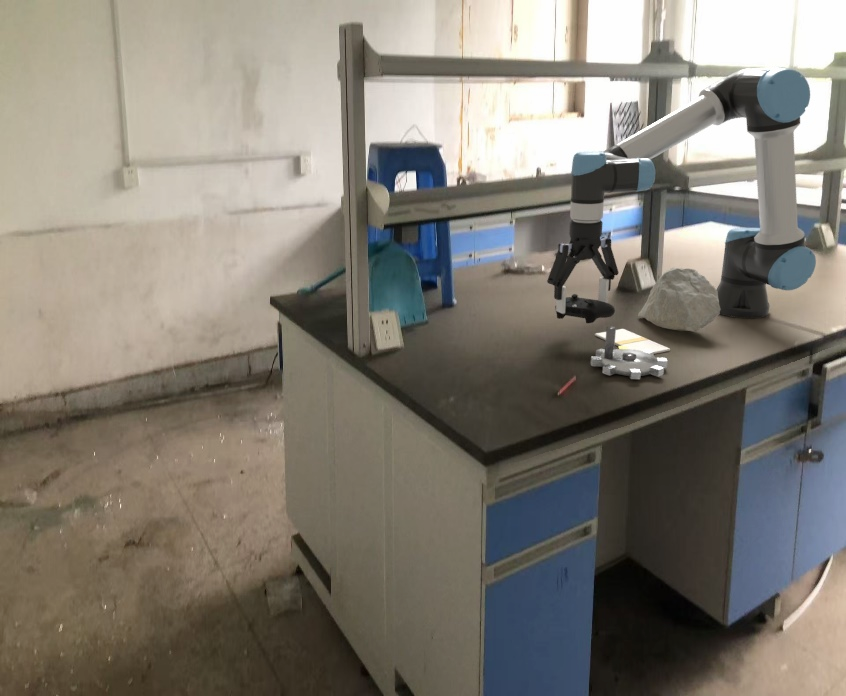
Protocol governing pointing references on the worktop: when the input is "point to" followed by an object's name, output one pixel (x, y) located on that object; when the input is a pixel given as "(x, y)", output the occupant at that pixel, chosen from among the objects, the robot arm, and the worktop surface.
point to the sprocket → (627, 359)
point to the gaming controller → (586, 309)
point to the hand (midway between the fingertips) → (581, 308)
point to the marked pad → (634, 341)
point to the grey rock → (681, 301)
